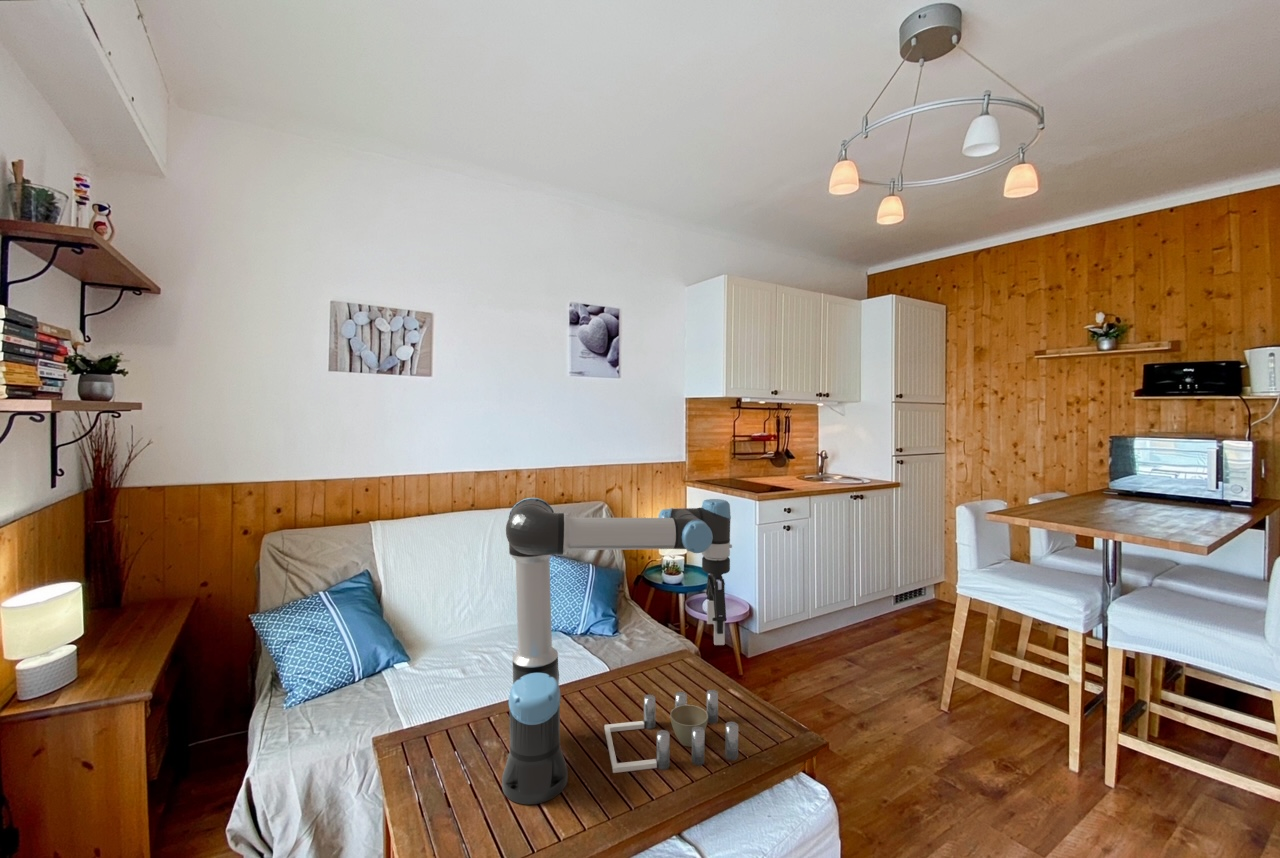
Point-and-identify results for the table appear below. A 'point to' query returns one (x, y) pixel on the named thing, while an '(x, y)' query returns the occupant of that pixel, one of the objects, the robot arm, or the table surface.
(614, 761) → the frame
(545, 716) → the robot arm
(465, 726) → the table surface
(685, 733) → the flower pot
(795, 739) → the table surface
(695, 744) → the spacers
